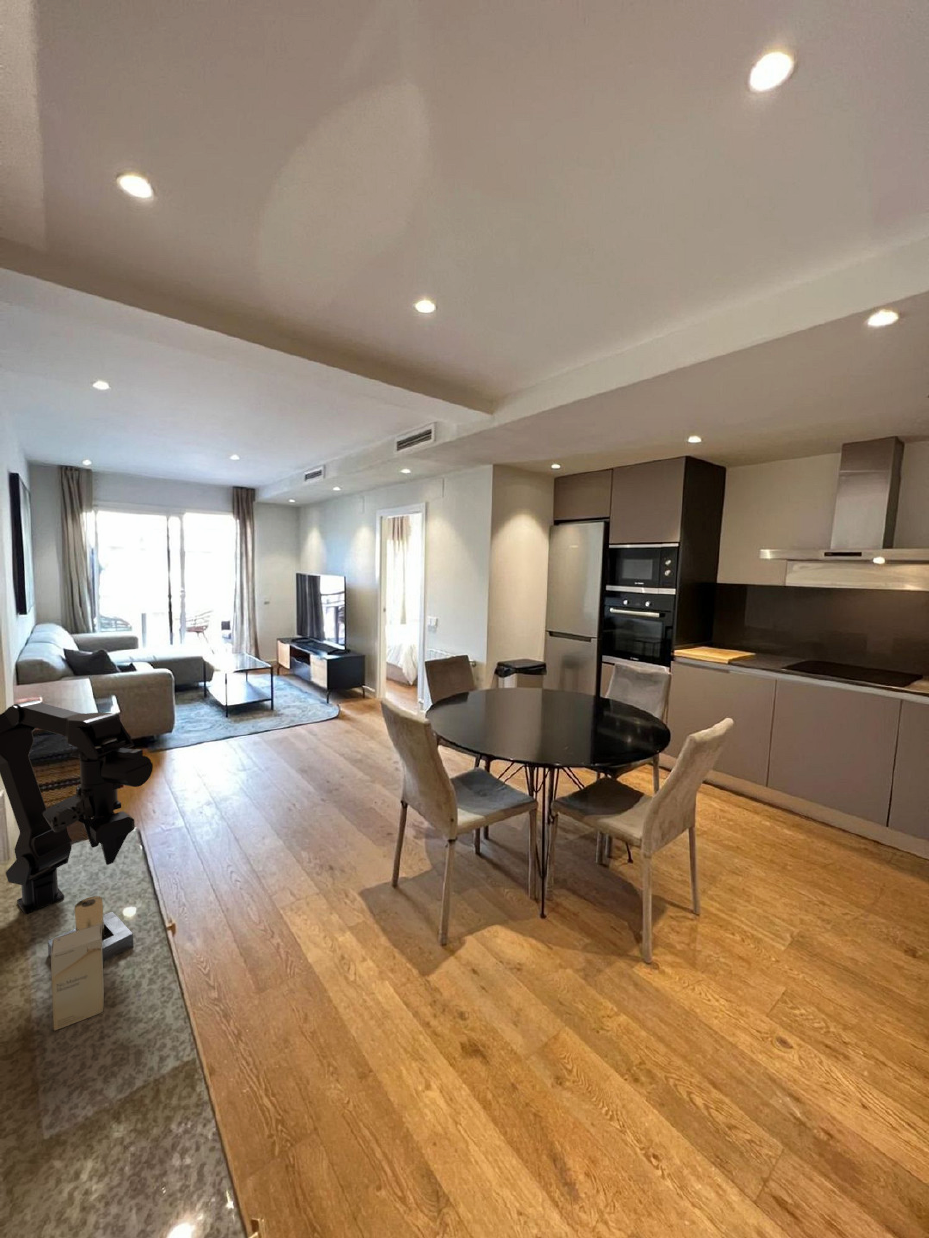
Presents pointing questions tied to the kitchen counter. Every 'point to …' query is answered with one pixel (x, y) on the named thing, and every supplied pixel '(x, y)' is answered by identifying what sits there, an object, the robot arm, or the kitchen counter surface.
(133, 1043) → the kitchen counter surface
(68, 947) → the skincare box
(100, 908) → the bushing
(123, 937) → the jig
